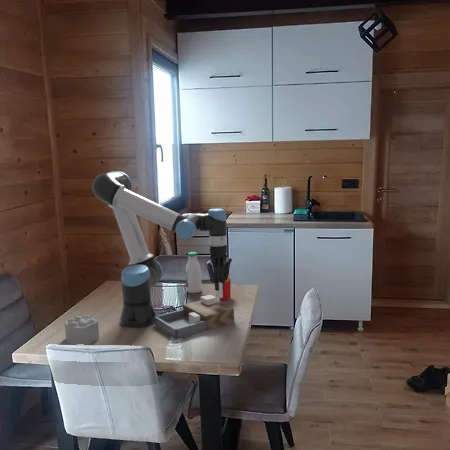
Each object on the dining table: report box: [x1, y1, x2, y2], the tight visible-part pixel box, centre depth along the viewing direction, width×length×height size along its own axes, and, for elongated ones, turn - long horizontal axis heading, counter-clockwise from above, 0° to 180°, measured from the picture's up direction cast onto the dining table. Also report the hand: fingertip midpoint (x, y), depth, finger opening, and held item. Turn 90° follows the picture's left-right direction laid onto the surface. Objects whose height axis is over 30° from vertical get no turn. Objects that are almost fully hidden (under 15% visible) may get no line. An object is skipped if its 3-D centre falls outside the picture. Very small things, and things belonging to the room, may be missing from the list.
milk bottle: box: [185, 251, 203, 294], centre depth 249 cm, size 8×8×20 cm
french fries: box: [219, 273, 232, 302], centre depth 236 cm, size 8×4×12 cm, turn 148°
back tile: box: [200, 294, 218, 305], centre depth 214 cm, size 5×5×2 cm
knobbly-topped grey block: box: [64, 314, 100, 346], centre depth 194 cm, size 10×13×9 cm
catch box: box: [153, 308, 207, 340], centre depth 202 cm, size 14×18×4 cm
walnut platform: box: [182, 299, 235, 331], centre depth 210 cm, size 14×18×6 cm
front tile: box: [189, 312, 200, 325], centre depth 201 cm, size 5×5×2 cm
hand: (219, 297), depth 218 cm, fingers closed
